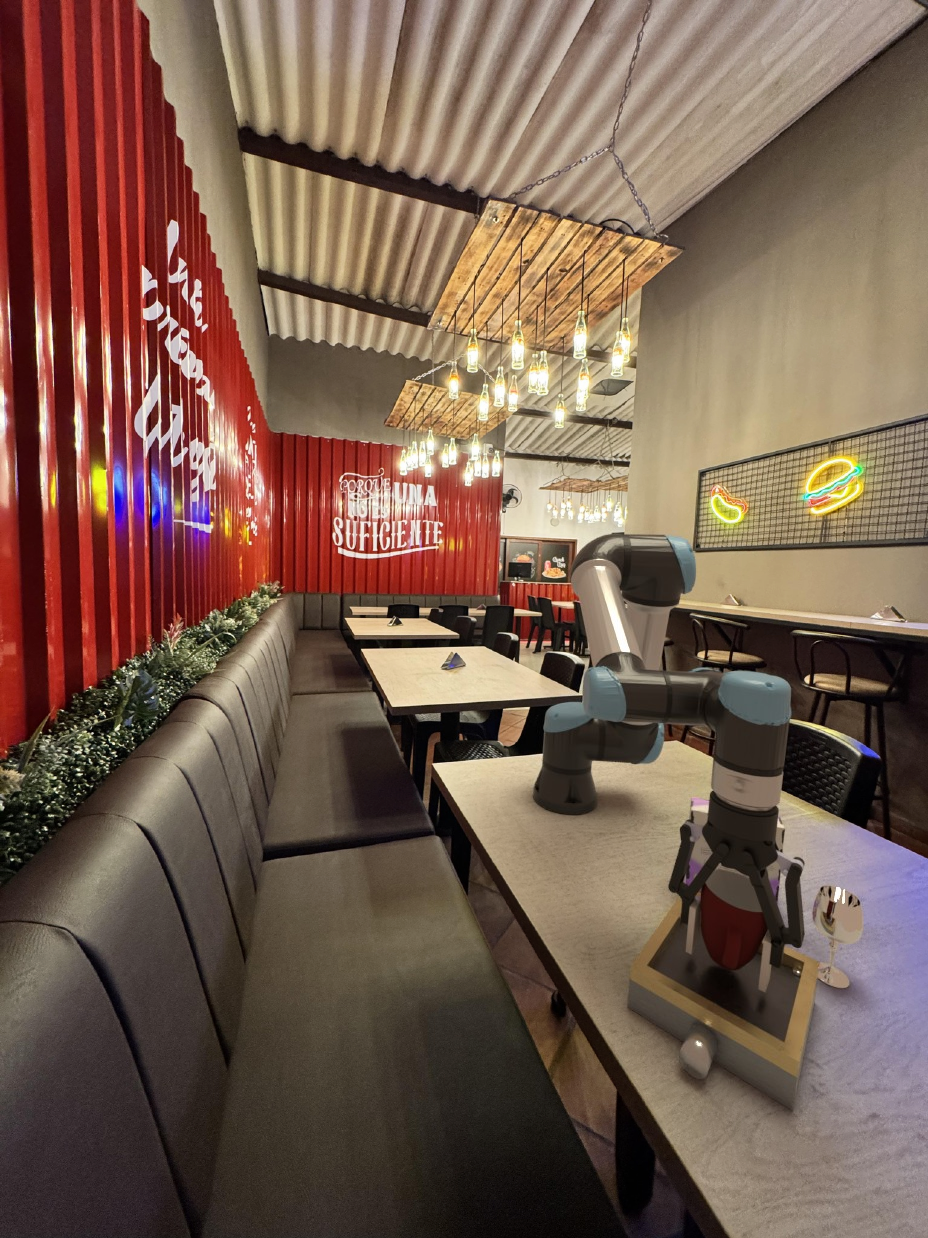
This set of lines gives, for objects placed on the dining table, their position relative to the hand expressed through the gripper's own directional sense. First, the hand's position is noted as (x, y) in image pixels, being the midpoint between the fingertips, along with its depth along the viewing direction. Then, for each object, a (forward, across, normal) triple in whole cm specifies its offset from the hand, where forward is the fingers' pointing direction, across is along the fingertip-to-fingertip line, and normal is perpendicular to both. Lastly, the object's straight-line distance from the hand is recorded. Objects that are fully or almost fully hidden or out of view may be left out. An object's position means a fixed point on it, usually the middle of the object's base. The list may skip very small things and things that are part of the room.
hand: (726, 964), depth 64 cm
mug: (0, 0, 0) cm, 0 cm away
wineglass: (+6, +10, +16) cm, 20 cm away
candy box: (+6, -5, +23) cm, 24 cm away
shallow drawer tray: (+6, 0, -2) cm, 6 cm away
